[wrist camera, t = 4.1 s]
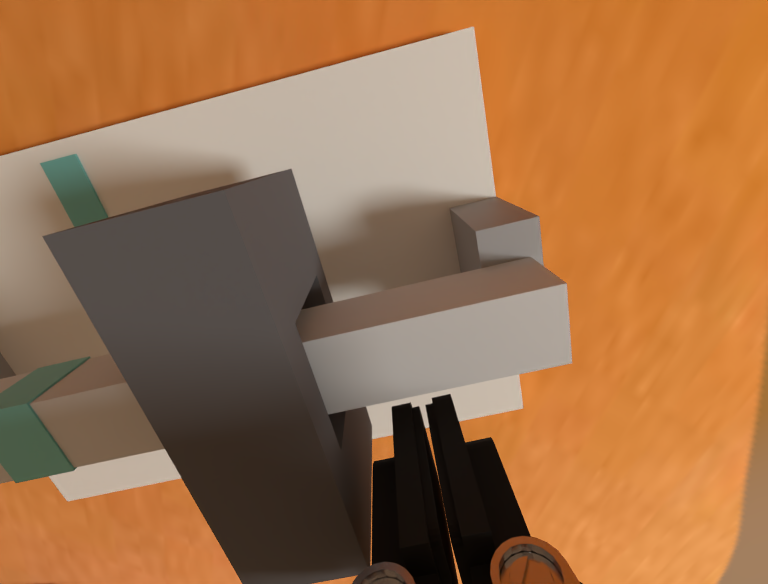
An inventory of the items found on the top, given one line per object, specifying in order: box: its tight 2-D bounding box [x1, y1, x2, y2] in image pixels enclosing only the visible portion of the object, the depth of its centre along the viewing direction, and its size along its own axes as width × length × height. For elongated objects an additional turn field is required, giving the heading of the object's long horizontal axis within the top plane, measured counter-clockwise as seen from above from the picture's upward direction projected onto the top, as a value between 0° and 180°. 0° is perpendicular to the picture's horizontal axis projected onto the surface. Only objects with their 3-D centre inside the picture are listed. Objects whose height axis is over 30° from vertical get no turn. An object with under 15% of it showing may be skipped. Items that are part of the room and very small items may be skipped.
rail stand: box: [0, 27, 572, 501], centre depth 12 cm, size 14×21×6 cm, turn 104°
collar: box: [42, 169, 372, 584], centre depth 10 cm, size 9×3×5 cm, turn 14°
